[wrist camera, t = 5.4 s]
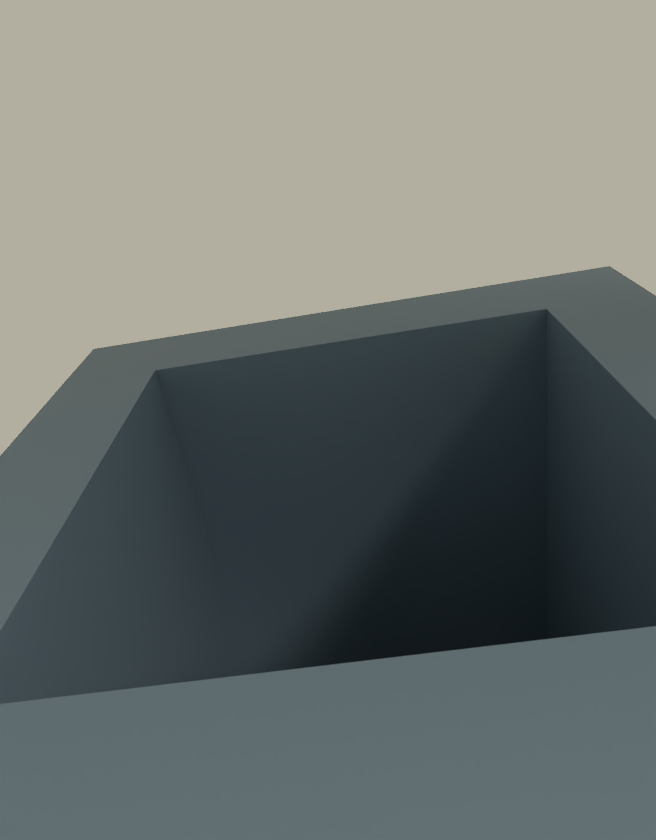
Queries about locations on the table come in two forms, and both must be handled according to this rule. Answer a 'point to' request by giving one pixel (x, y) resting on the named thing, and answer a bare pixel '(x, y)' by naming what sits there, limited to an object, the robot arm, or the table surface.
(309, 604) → the sleeve
